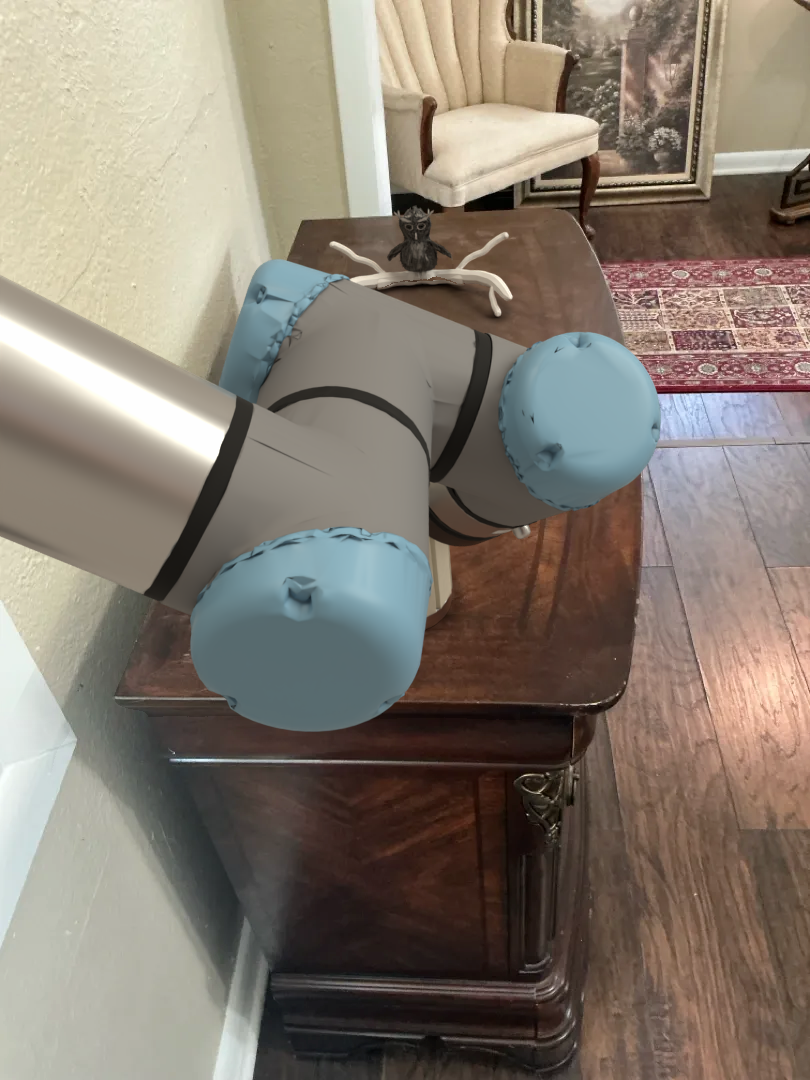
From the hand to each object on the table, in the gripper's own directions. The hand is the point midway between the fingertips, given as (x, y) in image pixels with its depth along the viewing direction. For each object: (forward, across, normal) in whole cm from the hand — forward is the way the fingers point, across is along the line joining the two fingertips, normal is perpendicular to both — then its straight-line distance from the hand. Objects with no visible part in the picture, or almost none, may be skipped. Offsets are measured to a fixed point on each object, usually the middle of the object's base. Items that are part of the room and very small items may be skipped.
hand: (389, 528), depth 72 cm
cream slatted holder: (+2, 0, -5) cm, 6 cm away
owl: (+39, +28, +28) cm, 56 cm away
